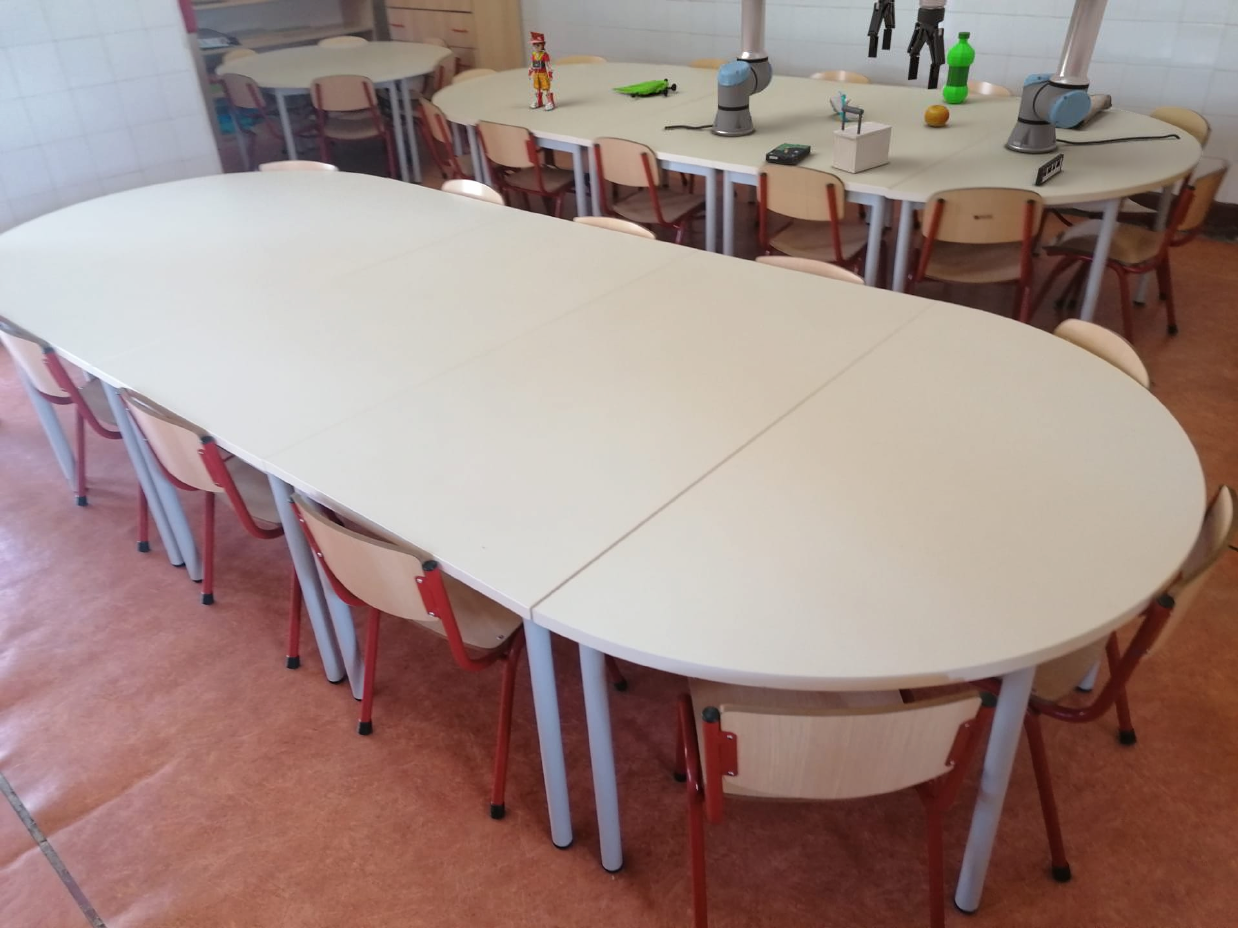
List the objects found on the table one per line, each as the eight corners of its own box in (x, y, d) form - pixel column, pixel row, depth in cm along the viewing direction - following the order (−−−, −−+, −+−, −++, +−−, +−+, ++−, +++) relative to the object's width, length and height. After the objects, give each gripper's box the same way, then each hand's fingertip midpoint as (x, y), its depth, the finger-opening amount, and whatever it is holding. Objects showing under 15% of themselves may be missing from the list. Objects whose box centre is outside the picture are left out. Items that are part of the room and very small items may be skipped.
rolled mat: (1079, 99, 336) (1104, 81, 328) (1092, 119, 337) (1117, 102, 329) (1048, 120, 319) (1073, 103, 311) (1062, 142, 319) (1088, 125, 311)
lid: (855, 139, 282) (858, 111, 277) (833, 134, 289) (835, 106, 284) (891, 129, 289) (894, 101, 284) (869, 124, 296) (872, 97, 291)
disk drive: (793, 166, 298) (810, 153, 308) (794, 157, 296) (811, 145, 306) (765, 162, 303) (782, 150, 313) (765, 154, 301) (783, 142, 311)
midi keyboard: (1039, 185, 269) (1043, 168, 266) (1035, 184, 270) (1038, 168, 267) (1060, 170, 279) (1064, 154, 277) (1056, 169, 280) (1060, 153, 277)
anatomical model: (825, 90, 346) (850, 83, 345) (827, 117, 352) (853, 110, 351) (835, 99, 333) (862, 92, 333) (838, 127, 339) (864, 120, 338)
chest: (854, 173, 288) (857, 139, 282) (832, 167, 295) (835, 133, 289) (887, 163, 295) (891, 129, 289) (866, 157, 302) (869, 124, 296)
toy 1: (525, 109, 381) (517, 32, 364) (534, 104, 388) (527, 28, 371) (550, 110, 377) (543, 32, 360) (559, 105, 384) (553, 28, 367)
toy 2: (686, 85, 398) (631, 84, 414) (685, 72, 395) (629, 72, 411) (651, 104, 381) (596, 103, 397) (650, 92, 378) (594, 91, 394)
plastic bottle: (973, 101, 354) (984, 32, 339) (955, 106, 349) (966, 36, 335) (952, 97, 361) (962, 29, 346) (934, 102, 356) (944, 33, 342)
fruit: (919, 118, 325) (933, 97, 322) (920, 121, 333) (934, 101, 330) (938, 130, 323) (953, 110, 320) (939, 133, 331) (953, 114, 328)
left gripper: (885, -11, 283) (877, 61, 295) (910, -22, 300) (901, 47, 312) (862, -12, 286) (855, 60, 298) (888, -22, 303) (880, 46, 315)
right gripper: (901, 2, 271) (893, 77, 283) (939, 14, 250) (929, 94, 262) (924, 0, 271) (915, 75, 284) (965, 12, 251) (953, 91, 263)
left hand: (879, 53), depth 305 cm, fingers open, 13 cm apart
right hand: (921, 84), depth 273 cm, fingers open, 13 cm apart
